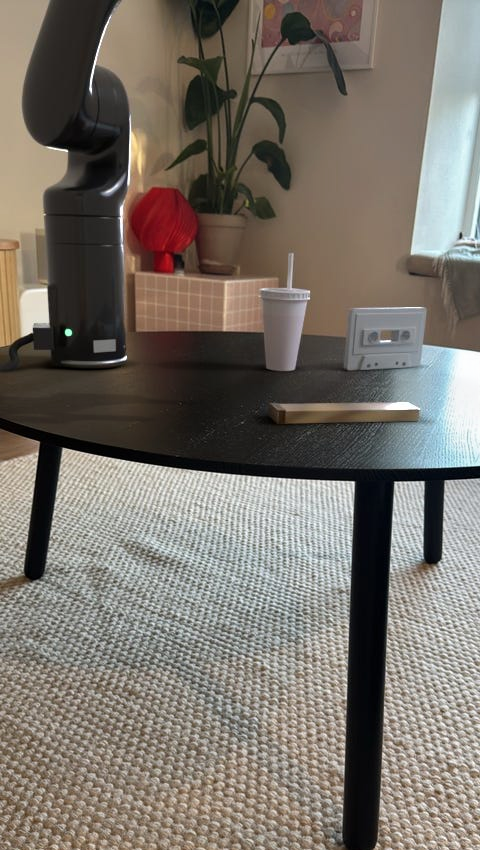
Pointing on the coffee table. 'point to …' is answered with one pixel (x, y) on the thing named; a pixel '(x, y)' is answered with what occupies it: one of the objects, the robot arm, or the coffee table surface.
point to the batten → (343, 412)
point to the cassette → (384, 354)
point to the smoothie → (283, 322)
